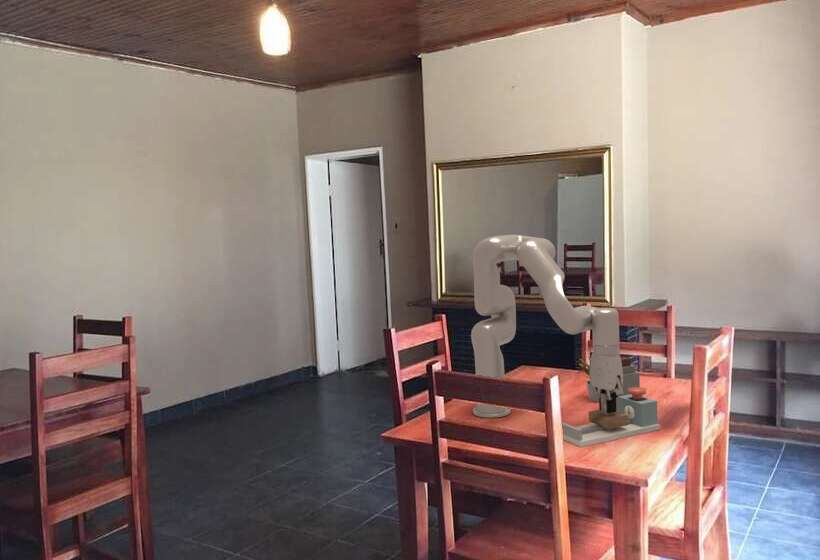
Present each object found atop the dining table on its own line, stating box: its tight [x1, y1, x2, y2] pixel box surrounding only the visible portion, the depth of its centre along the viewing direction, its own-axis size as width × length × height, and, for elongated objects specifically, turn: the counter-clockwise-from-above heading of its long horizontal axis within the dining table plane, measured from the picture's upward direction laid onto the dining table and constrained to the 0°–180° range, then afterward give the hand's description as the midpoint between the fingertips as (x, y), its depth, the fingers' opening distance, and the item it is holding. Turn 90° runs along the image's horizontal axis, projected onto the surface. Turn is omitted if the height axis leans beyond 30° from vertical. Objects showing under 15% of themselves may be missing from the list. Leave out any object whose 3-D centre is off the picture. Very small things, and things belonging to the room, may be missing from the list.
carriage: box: [588, 393, 628, 429], centre depth 201 cm, size 9×7×9 cm
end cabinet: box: [618, 394, 659, 427], centre depth 206 cm, size 10×6×7 cm, turn 24°
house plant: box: [578, 355, 599, 403], centre depth 237 cm, size 14×14×16 cm
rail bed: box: [562, 419, 661, 448], centre depth 202 cm, size 12×29×4 cm, turn 114°
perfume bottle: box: [611, 356, 641, 412], centre depth 220 cm, size 7×7×18 cm
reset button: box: [628, 386, 647, 400], centre depth 206 cm, size 5×5×3 cm
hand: (607, 410), depth 202 cm, fingers closed on carriage, 2 cm apart
